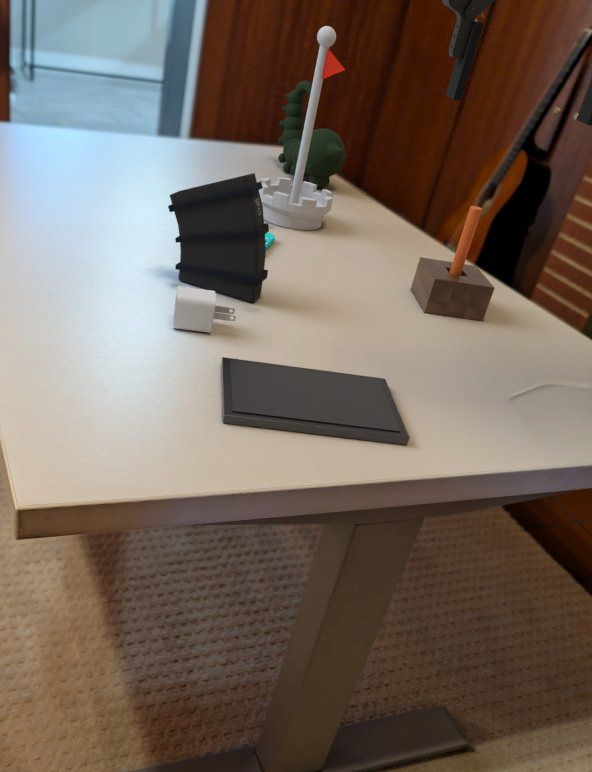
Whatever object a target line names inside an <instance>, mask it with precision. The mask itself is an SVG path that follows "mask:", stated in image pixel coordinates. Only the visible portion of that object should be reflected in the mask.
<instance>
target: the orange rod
mask: <svg viewBox="0 0 592 772" xmlns="http://www.w3.org/2000/svg"><path fill="white" fill-rule="evenodd" d="M482 212H483V208H482V207H480V206H477V205H471V206H470V207H469V210H468V213H467V216H466V219H465V223H464V226H463V228H462V232H461V235H460V237H459V240H458V241H459V242H458V244H457V247H456V250H455V254H454V256H453V260H452V262H453V263H452V266H451V269H450V272H449V273H450V274H453V275H461V272H462V269H463V266H464V264H466V260H467V257H468V255H469V251H470V248H471V245H472V242H473V239H474V236H475V233H476V229H477V227H478V224H479V221H480V218H481V215H482Z"/></svg>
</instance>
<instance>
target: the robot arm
mask: <svg viewBox="0 0 592 772" xmlns="http://www.w3.org/2000/svg"><path fill="white" fill-rule="evenodd" d="M496 1H497V0H441V3H442V5H444V6H446V7H447V8H448V9H450V10H452V11H453V12H454V13H455V15H456V21H455V26H454V29H453V32H452V35H451V39H450V43H449V47H448V56H449V57H451V58H455V61H454V66H453V69H452V73H451V76H450V79H449V83H448V86H447V90H446V94H445V96H447V97H448V98H450V99H451V100H453V101H458V102H462V99H463V96H464V94H465V89H466V86H467V84H468V83H467V82H468V79H469V75H470V73H471V70H472V65H473V63H474V59H475V55H476V52H477V49H478V45H479V42H480V38H481V35H482V31H483V29H484V25H485V24H484V22H481V21H477V20H476V18H477V17H479V16H480V15H481V14H482V13H483V12H484V11H485V10H487V9H488V8H489V7H490V6H491V5H492V4H493V3H495V2H496ZM575 119H576V121H578V122H580V123H582V124H585V125H587V126H592V77H591V79H590V81H589V84H588V85H587V90H586V91H585V94H584V97H583V100H582V102H581V105H580V107H579V111H578V113H577V116H576V118H575Z"/></svg>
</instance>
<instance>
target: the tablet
mask: <svg viewBox="0 0 592 772" xmlns="http://www.w3.org/2000/svg"><path fill="white" fill-rule="evenodd" d="M220 371H221V372H220V373H221V374H220V375H221V376H220V377H221V403H222V404H221V406H222V407H221V408H222V411H221V412H222V423H223V424H228V425H237V426H245V427H253V428H262V429H269V430H277V431H278V430H279V431H286V432H287V431H288V432H294V433H304V434H309V435H311V434H312V435H318V436H319V435H320V436H329V437H335V438H344V439H345V438H346V439H353V440H359V441H369V442H379V443H386V444H393V445H402V446H408V443H409V440H410V435H409V433H408V431H407V429H406V426H405V424H404V421H403V418H402V416H401V414H400V412H399V409H398V406H397V404H396V401H395V399H394V396H393V394H392V393H391V389H390V387H389V385H388V382H387V380H386V378H384V377H377V376H376V377H375V376H370V375H361V374H353V373H345V372H338V371H331V370H322V369H316V368H309V367H308V368H307V367H301V366H294V365H293V366H292V365H287V364H286V365H283V364H277V363H269V362H263V361H254V360H248V359H239V358H232V357H226V356H225V357H224V356H222V357H221V361H220Z"/></svg>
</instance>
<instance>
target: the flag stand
mask: <svg viewBox="0 0 592 772" xmlns="http://www.w3.org/2000/svg"><path fill="white" fill-rule="evenodd" d="M336 40H337V33H336V31H335V29H334V28H333V27H332V26H330V25H324V26H322V27H321V28H319V30H318V31H317V34H316V41H317V43H318V44H319V48H318V53H317V57H316V63H315V69H314V73H313V79H312V83H311V84H312V89H311V94H310V96H309V99H308V104H307V105H308V106H307V109H306V114H305V120H304V124H303V129H302V133H303V135H302V140H301V145H300V150H299V155H298V160H297V166H296V171H295V176H293V182H292V179H291V178H290V177H279V176H277V177H276V180H275V183H272V179H271V178H269V177H266V176H265V177H262V178H260V179H259V182H261V183H262V187H263V188H262V189H260V190H259V193H260V198H261V202H262V206H263V217H264V221H266V222H268V223H271V224H272V225H276V226H280V227H282V228H287V229H291V230H299V231H313V230H317V229H320V228H321V227H322V223H323V218H324V216H325V215H327V214H328V213H329V212H331V210H332V206H333V201H334V193H333V192H332V191H330V190H329V189H325V188H321V192H318V191H317V189H318V188H317V185H316V184H313V183H310V181H305V180H304V175H305V174H304V171H305V166H306V161H307V156H308V151H309V147H310V142H311V137H312V132H313V130H314V127H315V121H316V117H317V111H318V108H319V107H318V106H319V102H320V97H321V92H322V87H323V81H324V79H326V78H329V77H331V76H334V75H336V74H339V73H341V72H343V71H345V70H346V69H345V68H344V67H343V65H342V64H341V63H340V61H339V59H337V57H336V56H335V55H334V54H333V52H332V51H331V49H330V47H332V46H333V45H334V44H335V42H336Z"/></svg>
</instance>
